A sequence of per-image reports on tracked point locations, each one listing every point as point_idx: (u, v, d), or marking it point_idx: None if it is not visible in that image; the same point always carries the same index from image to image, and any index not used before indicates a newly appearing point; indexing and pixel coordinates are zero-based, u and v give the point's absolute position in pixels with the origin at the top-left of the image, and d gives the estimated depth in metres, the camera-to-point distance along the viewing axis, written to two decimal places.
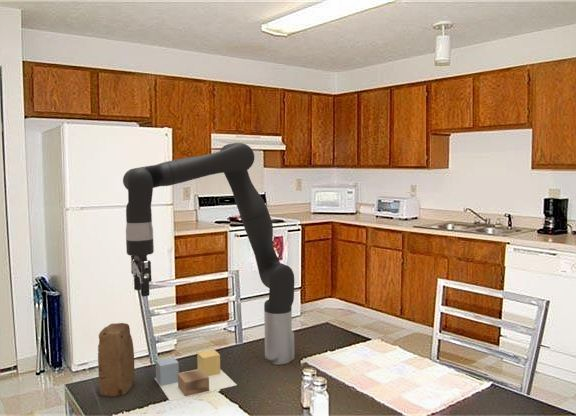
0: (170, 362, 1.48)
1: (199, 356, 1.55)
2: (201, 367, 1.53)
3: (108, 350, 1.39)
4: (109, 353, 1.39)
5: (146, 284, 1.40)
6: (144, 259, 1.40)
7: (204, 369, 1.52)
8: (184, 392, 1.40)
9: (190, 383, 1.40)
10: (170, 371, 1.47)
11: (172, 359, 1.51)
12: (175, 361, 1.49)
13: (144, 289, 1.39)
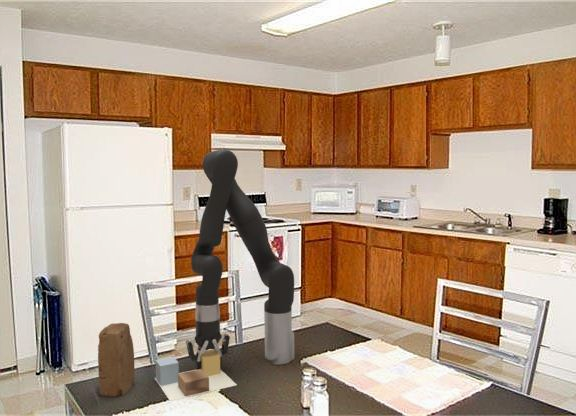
0: (170, 362, 1.48)
1: None
2: None
3: (108, 350, 1.39)
4: (110, 353, 1.39)
5: None
6: None
7: (204, 369, 1.52)
8: (184, 392, 1.40)
9: (190, 383, 1.40)
10: (170, 371, 1.47)
11: (172, 359, 1.51)
12: (175, 361, 1.49)
13: None
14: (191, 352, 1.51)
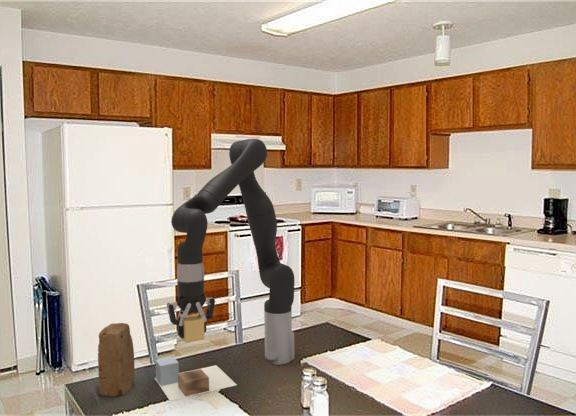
0: (170, 362, 1.48)
1: None
2: (184, 332, 1.40)
3: (108, 350, 1.39)
4: (109, 353, 1.39)
5: None
6: None
7: (186, 334, 1.39)
8: (184, 392, 1.40)
9: (190, 383, 1.40)
10: (170, 371, 1.47)
11: (172, 359, 1.51)
12: (175, 361, 1.49)
13: None
14: (172, 315, 1.39)
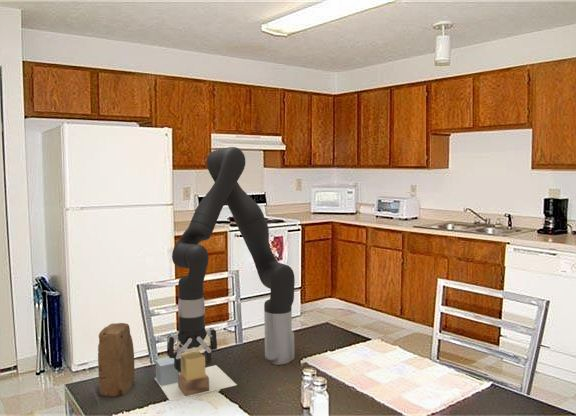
0: (170, 362, 1.48)
1: (182, 358, 1.43)
2: (185, 370, 1.41)
3: (108, 350, 1.39)
4: (109, 353, 1.39)
5: None
6: None
7: (187, 372, 1.40)
8: (184, 392, 1.40)
9: (190, 383, 1.40)
10: (170, 371, 1.47)
11: (172, 359, 1.51)
12: None
13: None
14: (171, 348, 1.39)
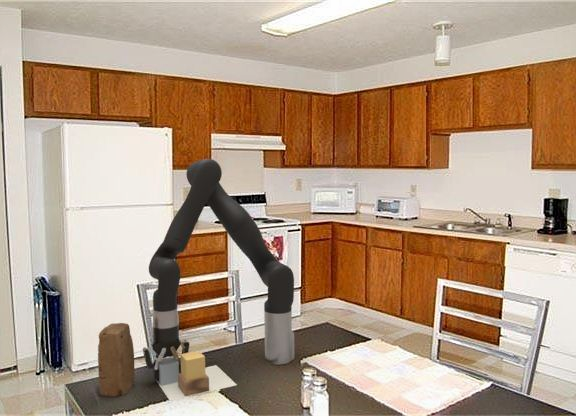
0: (170, 362, 1.48)
1: (182, 358, 1.43)
2: (185, 370, 1.41)
3: (108, 350, 1.39)
4: (109, 353, 1.39)
5: None
6: (178, 340, 1.51)
7: (187, 372, 1.40)
8: (184, 392, 1.40)
9: (190, 383, 1.40)
10: (170, 371, 1.47)
11: (172, 359, 1.51)
12: (175, 361, 1.49)
13: None
14: (148, 360, 1.46)
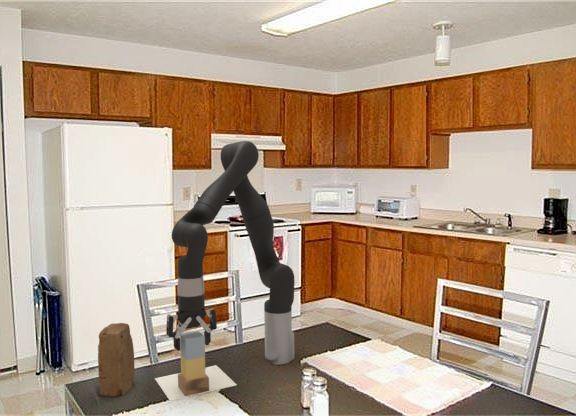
0: (195, 336, 1.42)
1: (182, 358, 1.43)
2: (185, 370, 1.41)
3: (108, 350, 1.39)
4: (110, 353, 1.39)
5: None
6: None
7: (187, 372, 1.40)
8: (184, 392, 1.40)
9: (190, 383, 1.40)
10: (196, 345, 1.41)
11: (197, 333, 1.44)
12: (201, 335, 1.42)
13: None
14: (170, 327, 1.38)
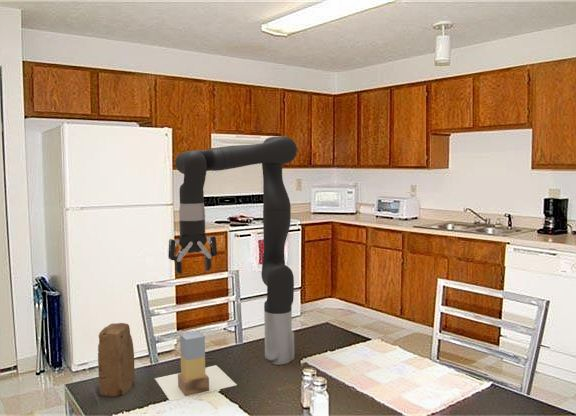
0: (195, 336, 1.42)
1: (182, 358, 1.43)
2: (185, 370, 1.41)
3: (108, 350, 1.39)
4: (109, 353, 1.39)
5: None
6: None
7: (187, 372, 1.40)
8: (184, 392, 1.40)
9: (190, 383, 1.40)
10: (196, 345, 1.41)
11: (197, 333, 1.44)
12: (201, 335, 1.42)
13: None
14: (172, 250, 1.44)
